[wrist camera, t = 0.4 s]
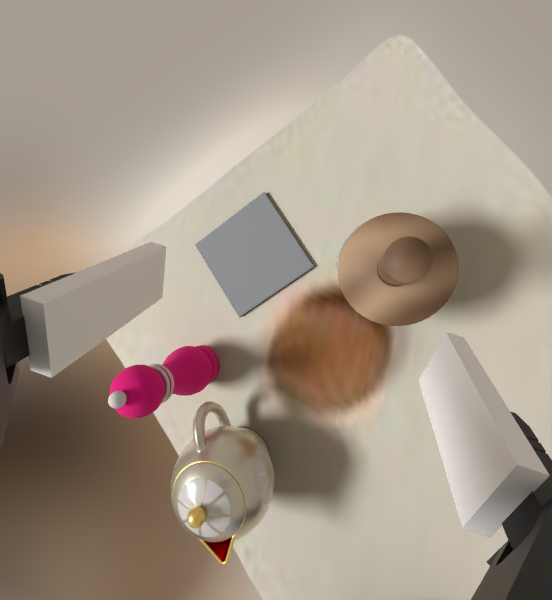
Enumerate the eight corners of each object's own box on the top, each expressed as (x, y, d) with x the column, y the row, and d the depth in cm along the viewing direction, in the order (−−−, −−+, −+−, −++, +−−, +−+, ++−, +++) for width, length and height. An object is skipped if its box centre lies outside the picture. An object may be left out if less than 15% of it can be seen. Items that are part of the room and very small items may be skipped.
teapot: (297, 494, 48) (268, 588, 33) (217, 506, 52) (156, 597, 36) (265, 379, 50) (222, 415, 34) (189, 397, 53) (118, 439, 37)
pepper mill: (230, 371, 51) (154, 413, 32) (197, 395, 52) (105, 450, 33) (206, 334, 52) (117, 353, 33) (174, 358, 54) (71, 391, 34)
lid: (479, 285, 35) (527, 279, 26) (377, 345, 38) (385, 361, 28) (411, 193, 37) (431, 154, 27) (318, 256, 40) (305, 242, 30)
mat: (313, 266, 48) (313, 266, 47) (240, 316, 51) (239, 316, 50) (265, 193, 50) (264, 191, 49) (196, 245, 53) (195, 244, 52)
